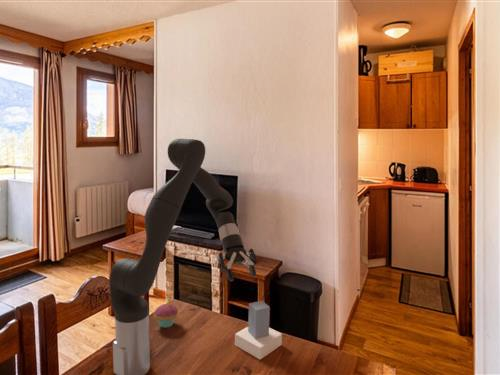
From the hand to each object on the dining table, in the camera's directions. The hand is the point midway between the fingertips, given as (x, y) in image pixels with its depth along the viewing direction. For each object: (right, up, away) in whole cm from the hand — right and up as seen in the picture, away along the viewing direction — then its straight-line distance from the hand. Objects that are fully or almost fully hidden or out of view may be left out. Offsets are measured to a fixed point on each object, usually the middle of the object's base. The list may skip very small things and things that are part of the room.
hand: (243, 278), depth 124 cm
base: (+5, -20, -7) cm, 22 cm away
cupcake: (-28, -18, +4) cm, 33 cm away
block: (+5, -16, -8) cm, 19 cm away
